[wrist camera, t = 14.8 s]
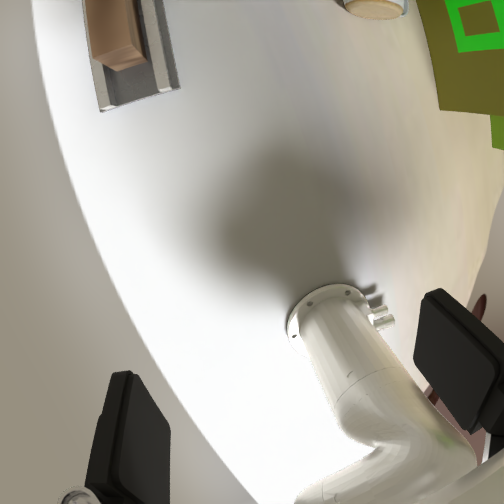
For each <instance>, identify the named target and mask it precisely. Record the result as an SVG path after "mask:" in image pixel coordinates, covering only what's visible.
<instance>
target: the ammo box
mask: <svg viewBox="0 0 504 504" xmlns="http://www.w3.org/2000/svg"><path fill="white" fill-rule="evenodd" d="M416 2H417V5H418V9H419V12H420V16H421V19H422V23H423V26H424V30H425V34H426V38H427V42H428V47H429V51H430V56H431V60H432V65H433V70H434V76H435V81H436V87H437V94H438V100H439V108H440V110H444V111H458V112H469V113H478V114H487V115H490V120H491V134H492V147H493V148H497V149H501V150H504V0H416Z"/></svg>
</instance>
